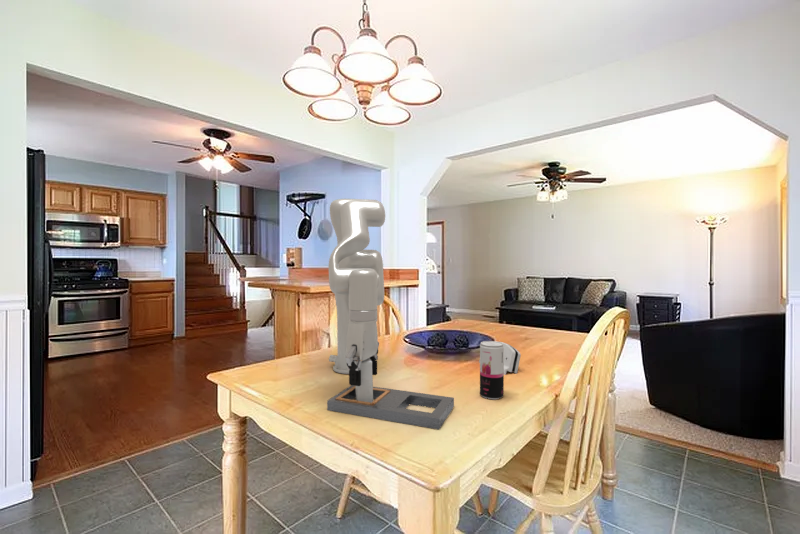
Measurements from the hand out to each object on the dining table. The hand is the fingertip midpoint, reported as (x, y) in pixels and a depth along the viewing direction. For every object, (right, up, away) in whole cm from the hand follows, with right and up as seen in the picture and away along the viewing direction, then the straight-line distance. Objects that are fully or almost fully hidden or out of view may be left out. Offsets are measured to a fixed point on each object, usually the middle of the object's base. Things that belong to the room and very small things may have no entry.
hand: (363, 379), depth 102 cm
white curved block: (+46, -6, +34) cm, 57 cm away
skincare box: (0, -7, 0) cm, 7 cm away
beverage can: (+36, -7, +6) cm, 37 cm away
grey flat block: (+7, -7, -3) cm, 10 cm away
